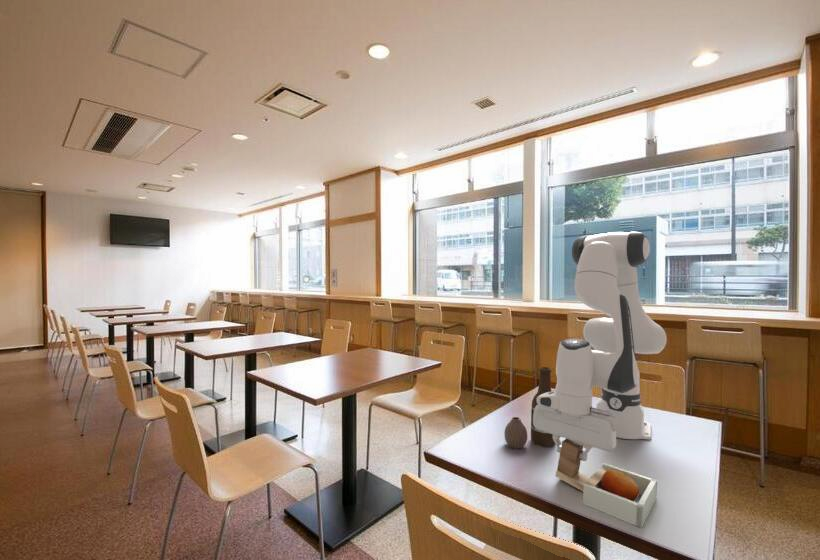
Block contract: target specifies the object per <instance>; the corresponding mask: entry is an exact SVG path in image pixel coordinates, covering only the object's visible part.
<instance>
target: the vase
mask: <svg viewBox="0 0 820 560" xmlns="http://www.w3.org/2000/svg"><path fill="white" fill-rule="evenodd" d="M504 440H505V442H506V444H507V445H508V447H510V448H511V447H512V449H519V448H520V449H522V448H523V447H524V446H526V443H527V442H528V441H527V440H528V431H527V428H526V426H525V425H524V423H523V422H522V420H521V418H520V417H517V416H513V417H511V420H510V421H509V422H508V423H507V424H506V426H505V429H504Z"/></svg>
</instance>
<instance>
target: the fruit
mask: <svg viewBox="0 0 820 560" xmlns="http://www.w3.org/2000/svg"><path fill="white" fill-rule="evenodd" d="M601 487H602V490H604V491H607V492H610V493H612V494H615V495H618V496H620V497H623V498H626V499H628V500H631V501H634V502H635V501H636V499H637V498H638V497H639V489H638V486H637V484H636V483H635V482H634V481H633V480H632V479H631V478H630V477H628V476H626V475H625V474H623V473H621V472H619V471H617V470H606V472H605V473H604V474H603V476H602V479H601Z"/></svg>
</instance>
